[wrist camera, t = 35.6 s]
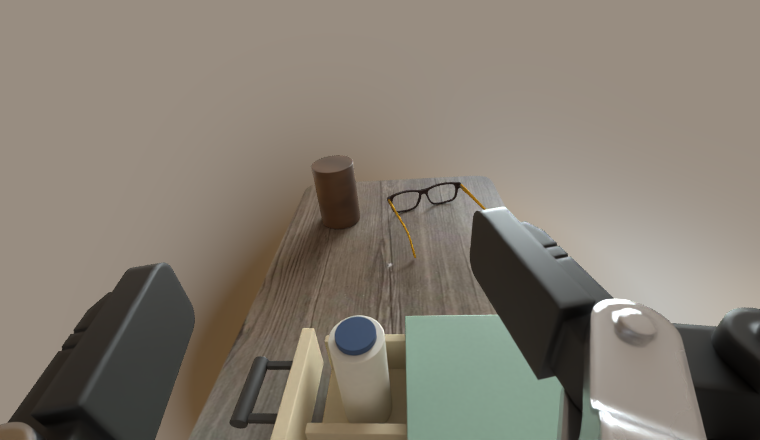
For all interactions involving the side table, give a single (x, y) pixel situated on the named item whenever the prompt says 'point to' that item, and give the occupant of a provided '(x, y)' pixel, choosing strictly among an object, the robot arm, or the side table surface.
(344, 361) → the tube
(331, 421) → the drawer
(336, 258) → the side table surface
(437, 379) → the cabinet
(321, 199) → the stand
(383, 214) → the side table surface
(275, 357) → the side table surface
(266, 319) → the side table surface
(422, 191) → the eyeglasses
